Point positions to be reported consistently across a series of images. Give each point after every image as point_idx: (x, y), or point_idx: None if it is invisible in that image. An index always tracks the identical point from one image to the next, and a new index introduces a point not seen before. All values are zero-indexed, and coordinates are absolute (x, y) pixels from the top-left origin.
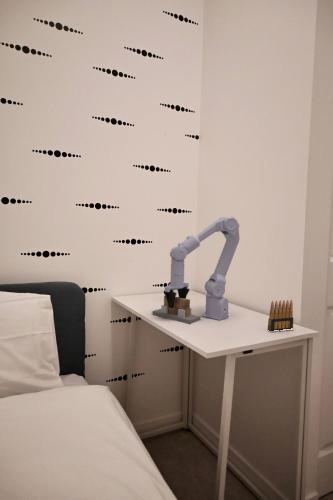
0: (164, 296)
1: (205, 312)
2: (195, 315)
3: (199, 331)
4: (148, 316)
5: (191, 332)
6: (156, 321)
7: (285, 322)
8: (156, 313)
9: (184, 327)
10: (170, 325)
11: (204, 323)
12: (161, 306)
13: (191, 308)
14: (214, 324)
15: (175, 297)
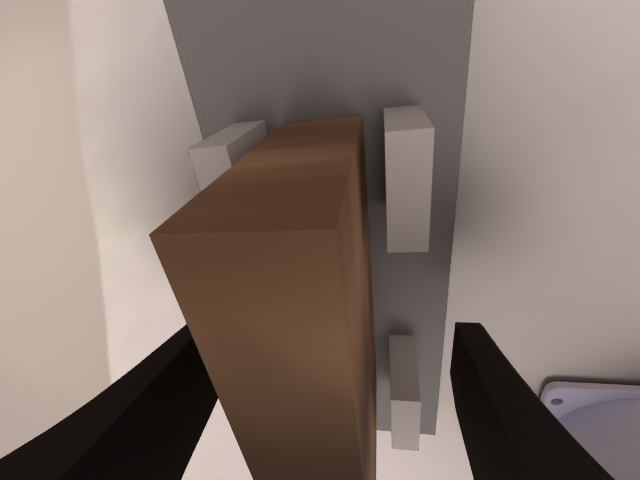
0: (164, 238)
1: (598, 425)
2: (429, 405)
3: (242, 458)
4: (99, 26)
5: (198, 442)
6: (110, 222)
7: None
8: (193, 68)
9: (217, 400)
10: (162, 338)
11: (377, 440)
12: (195, 149)
13: (417, 448)
14: (404, 473)
15: (299, 465)
